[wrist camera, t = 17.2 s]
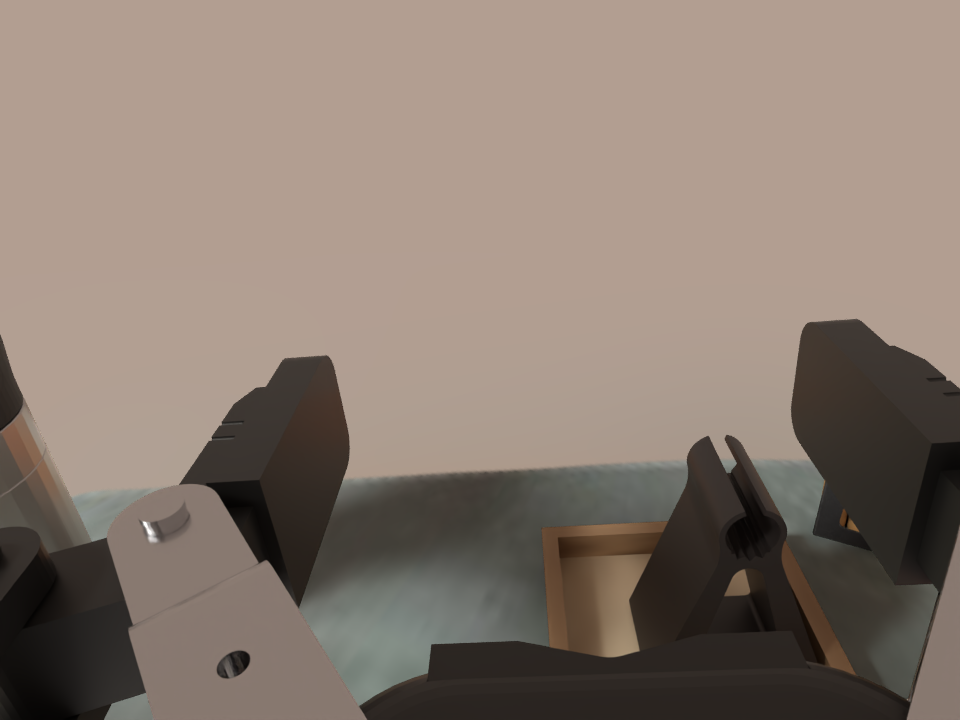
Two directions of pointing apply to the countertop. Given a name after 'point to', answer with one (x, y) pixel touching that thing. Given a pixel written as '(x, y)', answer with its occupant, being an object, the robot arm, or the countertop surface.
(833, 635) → the shallow tray
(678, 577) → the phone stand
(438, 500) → the countertop surface
